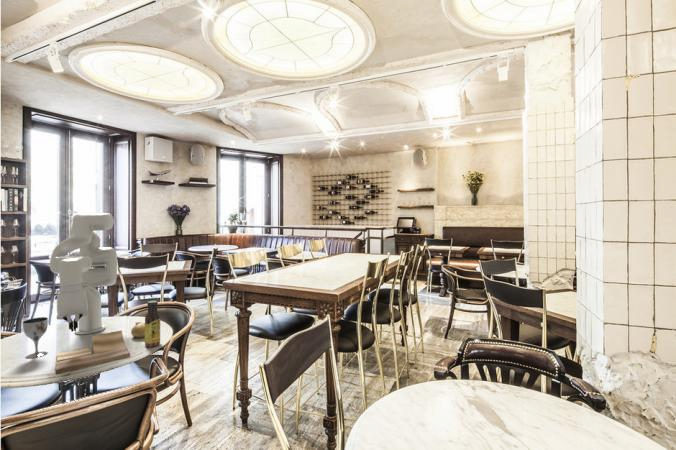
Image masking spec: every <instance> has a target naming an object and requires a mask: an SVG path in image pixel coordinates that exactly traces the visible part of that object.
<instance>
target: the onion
mask: <svg viewBox="0 0 676 450" xmlns="http://www.w3.org/2000/svg"><path fill="white" fill-rule="evenodd" d="M130 334H131V336H132V337H133V338H139V339H142V338H145V322H143V321H137V322H135V325H134V326H133V327H132V328H131V331H130Z"/></svg>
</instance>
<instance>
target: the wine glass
mask: <svg viewBox="0 0 676 450" xmlns="http://www.w3.org/2000/svg"><path fill="white" fill-rule="evenodd" d="M48 324H49V319H48V317H45V316H42V317H40V316H39V317H33V318H28V319H26V320H23V321H22V329H23V333H24V335H25V336H26V337H27V338H29V339H30V340H31V341H32V342H33V343H34V348H35V349H34V351H35V352H33V353H30V354H27V355H26V356H25V359H29V360H30V359H31V360H32V359H38V358H41V357H44V356H46V355H48V353H49V352H48V351H39V350H38V349H39V348H38V347H39V341H40V339H41V338H42V337H44V335H45V334H46V333H47V330H48Z"/></svg>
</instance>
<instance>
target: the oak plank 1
mask: <svg viewBox="0 0 676 450" xmlns="http://www.w3.org/2000/svg"><path fill="white" fill-rule="evenodd" d="M91 354H92V352H91V349H90V347H89V346H88V347H84V348H79V349H74V350H70V351H64V352H60V353H56V362H59V361H64V360H68V359H73V358H77V357H82V356H86V355H91Z"/></svg>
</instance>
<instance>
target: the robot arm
mask: <svg viewBox="0 0 676 450" xmlns="http://www.w3.org/2000/svg"><path fill="white" fill-rule="evenodd" d="M114 220H115V219H114V216H113V215H112V214H111V213H110V212H109V213H106V212H103V213H101V212H100V213H98V212H97V213H95V212H94V213H93V212H90V213H88V212H87V213H77V214H75V215H74V216H73V217H72V224H71V228H70V233H69V237H68V238H67V237H66V239H64V240H63V241H61V242H60V243H59V244H57V245H56V246H55V247H54V249H53V251H52V253H51V257H50V261H49V269H50V270H49V271H51V272H52V273H53V274H58V275H59V276H58V277H59V291H58V292H57V297H56V320H59V321H60V320H64V321H65V322H67V323H68V329H69V330H70V331H71V332H72V333H73V332H74V334H76V335H90V334H94V333H95V334H96V333H98V332H101V331H103V330H105V329H106V324H102V295H101V293H100V291H99V290H98V289H96V288H99V287H100V288H101V287H111V286H113V285H116V283H117V280H118V279H117V278H118V256H117V251H116V249H115V248H114V247H111V246H106V247H105V246H104V247H102V246H101V238H100V236H99V235H98V234H97V233H96V232H95V231H97V232H98V231H108V230H111V229H112V228H113V227H114V223H115V221H114ZM75 250H79V254H78V255H75V254H74V255H66V254H68V253H70V252H73V251H75ZM101 266H104V267H101ZM92 267H93V268H92ZM72 316H74V318H71V317H72Z"/></svg>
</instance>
